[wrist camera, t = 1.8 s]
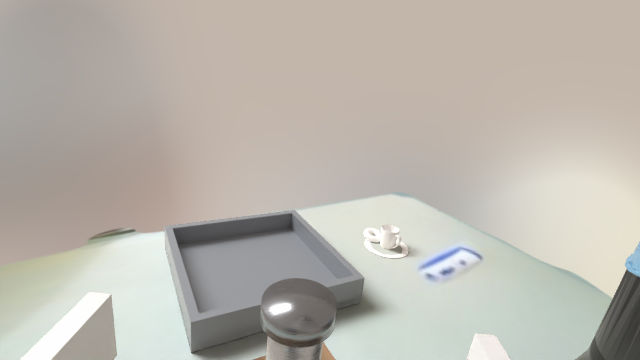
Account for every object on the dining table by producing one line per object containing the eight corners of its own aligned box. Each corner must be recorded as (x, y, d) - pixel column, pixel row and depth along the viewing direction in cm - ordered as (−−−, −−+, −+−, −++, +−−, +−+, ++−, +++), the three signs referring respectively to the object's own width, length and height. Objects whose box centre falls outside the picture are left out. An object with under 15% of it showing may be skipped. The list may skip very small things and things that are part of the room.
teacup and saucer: (357, 235, 67) (360, 216, 66) (395, 235, 69) (399, 216, 68) (373, 261, 59) (377, 240, 58) (415, 260, 61) (420, 239, 60)
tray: (292, 229, 66) (294, 210, 64) (360, 302, 48) (364, 277, 46) (165, 249, 55) (164, 226, 53) (191, 352, 37) (190, 322, 36)
